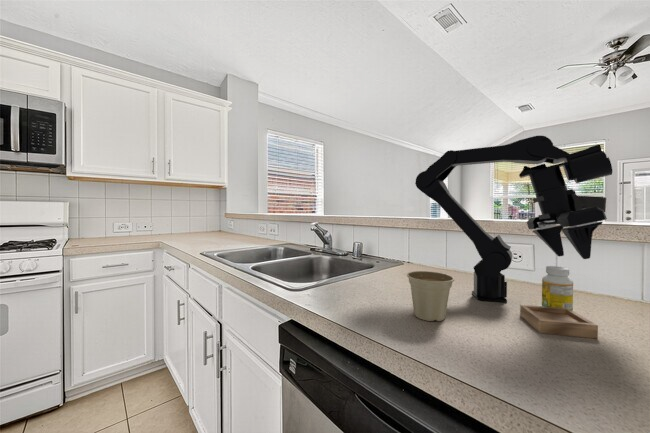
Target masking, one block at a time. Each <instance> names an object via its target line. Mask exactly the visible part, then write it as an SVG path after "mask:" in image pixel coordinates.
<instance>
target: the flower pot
mask: <svg viewBox="0 0 650 433" xmlns="http://www.w3.org/2000/svg"><path fill="white" fill-rule="evenodd" d="M406 277H407V278H408V283H409V284H410V285H409V286H410V291H411V298H412V300H411V301H412V308H413V309H412V310H413V315H414V316H415V317H417V319H420V320H423V321H427V322H433V321H437V322H441V321H443V320H445V319H446V314H447V308H448V302H449V297H450V290H451V288H452V286H453V283H454V282H455V280H456V278H455V277H454V276H452V275H451V274H447V273H443V272H438V271H427V270H426V271H425V270H418V271H417V270H416V271H409V272H407V273H406Z"/></svg>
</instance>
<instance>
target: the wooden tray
mask: <svg viewBox="0 0 650 433" xmlns="http://www.w3.org/2000/svg"><path fill="white" fill-rule="evenodd" d="M519 305H520V306H519V308H520V309H519V316H520V317H521V318H522V319H524V320H525V322H527V323H528V324H529V325H531V327H533V328H534V329H535V330H537V332H538V333H540V334H546V335H547V334H549V335H559V336H567V337H568V336H569V337H578V338H589V339H598V338H599V336H598V335H599V325H598V324H596V323H594V322H592V321H591V320H589V319H587V318H586V317H584V316H582V315H581V314H579V313H577V312H576V311H572V310H570V309H568V308H556V307H543V306H542V305H541V306H539V305H528V304H527V305H525V304H519Z"/></svg>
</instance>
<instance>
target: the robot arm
mask: <svg viewBox="0 0 650 433" xmlns="http://www.w3.org/2000/svg"><path fill="white" fill-rule="evenodd" d="M494 163H495V164H496V163H514V164H522V165H524V166H523V168H522V171H521V172H520V173H519V174H518V176H519V178H520V179H522V178H526V177H527V178H528V177H529V180H530V183H531V185H532V186H531V187H532V188H533V192H534V193H535V194H534V195H535V197H534V198H532V200H533V203H538V206H539V210H540V212H541V214H539V215H537V216H535V217H530V218H528V220H527V222H526V225H527V228H528V230H532V233H534V234H535V235H536V236H537V237H538V238H539V239H540V240H541V241H542V242H543V243H544V244H545V245H547V246H548V248H549V249H551V251H552V252H553V253H554V254H555V255H556V256H557V257H564V256H565V254H564V253H565V251H564V246H563V242H562V235H561V232H562V233H563V234H564V236H565V237H566V239H567V241H569V242H570V244H571V245H572V246H573V248H574V249H575V251H576V252H577V253H578V255H579V256H580V258H582V259H583V260H589V259H591V255H592V254H591V253H592V241H593V233H594V231H595V230H596V229H597V228H598V227H599V226H601V225H603V221H605V220H607V216H606V207H607V206H606V205H607V197H604V196H593V195H592V196H590V195H577V193H576V191H575V190H574V189H573V188H571V189H568V187H567V184H566V181H565V179H564V176H563V172H562V169H561V168H563V171H564V174H565V177H566V179H567V181H574V182H575V184H580V183H584V182H587V181H592V180H595V179H596V180H597V179H599V178H600V179H601V178H604V177H608V176H612V175H613V166H612V163H611V160H610V157H609V156H607V154H606V152H605V151H604V150H603V149H602V147H601V144H596V145H592V146H590V147H588V148H585V149H582V150H579V151H578V150H577V151H575V152H571V153H569V152H567V151H565V150H563V149H561V148H559V147H557V146H555V145H554V143H553V141H552V140H551V138H549V137H547V136H546V135H533V136H528V137H526V138H522V139H519V140H516V141H514V142H511V143H508V144H501V145H494V146H486V147H476V148H468V149H460V150H451V149H450V150H447V151H446V152H444V154H442V155H441V157H440V158H438V159H437V160H436V161H435V162H433V163H432V164H430V165H429V166H428V168H426V169H425V170H424V171H420V172H419V173H418V175H417V176H416V178H415V182H414V184H415V187H416V188H417V189H418V190H420V192H421V193H423V194H424V195H425V196H427V197H429V198H430V199H432V200H433V201H435V202H436V203H437V204H438V206H440V207H441V208H442V210H444V212H445V213H446V214H447V215H448V217H449V218H451V220H453V222H454V223H455V224H456V225H457V226H458V227H459V228H460V230H462V232H463V233H464V234H465V235H466V237H468V238H469V239H470V240H471V242H472V243H473V245H474V247H475V249H476V252H477V253H478V255H479V256H480V258H481V260H479V261H478V262H477V263H476V264H475V265H474V266H473V270H474V271H473V290H471V294H472V295H473V296H474V297H475V298H476V299H477V300H478V301H488V302H489V301H490V302H503V303H508V299H507V298H508V281H506V280H505V277H506V276H505V274H503V273H501V271H502V272H503V271H505V270H507V269H508V268H509V267H510V265H511V263H512V261H513V253H512V251H511V247H512V246H510V245H509V244H507V243H506V242H505V241H504V240H503V238H502V236H500V234H498V235H496V236H495V237H493V235H490V234H489V233H488V232H487V231H486V230H484V228H483V227H482V226H481V225H480V224H479V223H478V222H477V221H476V220H475V219H474V218H473V217H472V215H470V213H468V212H467V210H466V209H465V208H464V207H463V206H462V205H461V204H460V203H459V202H458V201H457V200H456V199H455V198H454V197H453V195H452V194H451V193H450V191H449V188H448V187H447V184H446V182H444V181H445V180H446V179H447V178H448V177H449V175H450V174H451V173H452V172H453V170H454V169H455V168H456V167H458V166H469V165H471V166H472V165H481V164H483V165H484V164H494ZM546 163H547V164H552V165H548V166H547V165H546ZM527 165H535V166H532V167H529V166H527Z"/></svg>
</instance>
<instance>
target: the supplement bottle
mask: <svg viewBox="0 0 650 433" xmlns="http://www.w3.org/2000/svg"><path fill="white" fill-rule="evenodd" d="M545 273H546V274H545V275H543V277H542V278H541V306H543V307H556V308H568V309H570V310H572V311H573V310H574V281H573V280H572V278H570V277H569V275H570V269H569V268H568V267H562V266H557V265H556V266H555V265H547V266H545Z"/></svg>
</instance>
